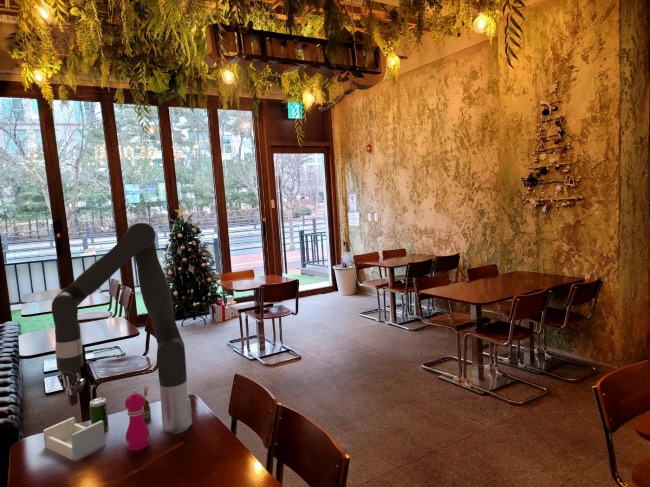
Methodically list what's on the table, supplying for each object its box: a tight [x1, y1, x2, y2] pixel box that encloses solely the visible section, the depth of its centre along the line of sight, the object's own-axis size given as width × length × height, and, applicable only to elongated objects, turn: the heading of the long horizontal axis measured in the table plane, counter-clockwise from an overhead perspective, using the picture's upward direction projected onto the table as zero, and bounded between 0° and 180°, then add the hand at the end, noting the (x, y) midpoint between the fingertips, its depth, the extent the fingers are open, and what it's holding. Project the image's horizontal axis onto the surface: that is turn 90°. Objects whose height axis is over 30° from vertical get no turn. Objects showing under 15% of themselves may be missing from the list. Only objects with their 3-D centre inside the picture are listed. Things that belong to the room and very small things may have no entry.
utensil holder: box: [143, 386, 152, 424], centre depth 165 cm, size 6×6×12 cm
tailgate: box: [71, 421, 107, 463], centre depth 142 cm, size 10×2×9 cm, turn 149°
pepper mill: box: [124, 389, 150, 451], centre depth 146 cm, size 7×7×20 cm
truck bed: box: [43, 416, 87, 461], centre depth 147 cm, size 10×16×7 cm, turn 59°
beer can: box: [89, 397, 110, 433], centre depth 157 cm, size 5×5×12 cm
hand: (73, 404), depth 145 cm, fingers closed
